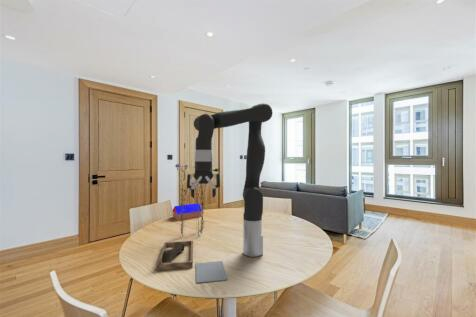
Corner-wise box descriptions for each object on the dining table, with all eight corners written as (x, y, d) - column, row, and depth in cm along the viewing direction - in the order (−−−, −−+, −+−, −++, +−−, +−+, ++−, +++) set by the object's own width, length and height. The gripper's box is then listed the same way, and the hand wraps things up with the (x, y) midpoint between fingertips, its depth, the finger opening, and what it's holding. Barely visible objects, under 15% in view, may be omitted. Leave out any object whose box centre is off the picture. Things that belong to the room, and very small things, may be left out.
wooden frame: (193, 245, 124) (193, 240, 124) (192, 267, 99) (192, 261, 99) (164, 247, 121) (164, 242, 121) (156, 270, 96) (156, 264, 96)
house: (202, 219, 177) (202, 204, 177) (177, 223, 166) (177, 207, 166) (196, 216, 187) (196, 202, 187) (172, 219, 176) (172, 204, 176)
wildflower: (213, 230, 150) (213, 162, 149) (206, 243, 127) (206, 163, 127) (180, 229, 151) (180, 162, 151) (167, 242, 128) (167, 163, 128)
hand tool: (177, 250, 116) (177, 241, 116) (184, 251, 115) (184, 242, 115) (156, 263, 97) (156, 252, 98) (164, 264, 96) (165, 253, 97)
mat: (222, 261, 104) (222, 260, 104) (227, 280, 88) (227, 279, 88) (196, 264, 102) (196, 263, 102) (196, 283, 86) (196, 282, 86)
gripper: (218, 160, 103) (218, 195, 103) (187, 160, 101) (186, 196, 100) (220, 160, 96) (220, 198, 96) (186, 160, 93) (186, 199, 93)
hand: (203, 197), depth 98 cm, fingers open, 8 cm apart
